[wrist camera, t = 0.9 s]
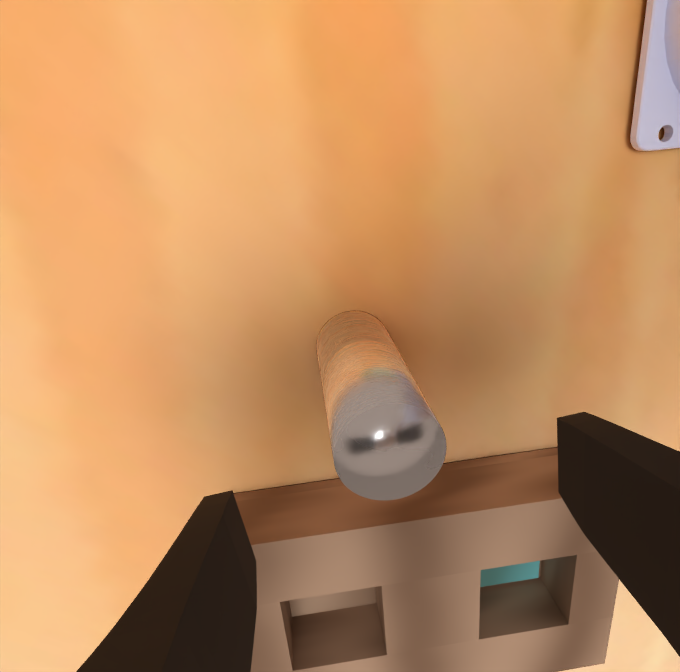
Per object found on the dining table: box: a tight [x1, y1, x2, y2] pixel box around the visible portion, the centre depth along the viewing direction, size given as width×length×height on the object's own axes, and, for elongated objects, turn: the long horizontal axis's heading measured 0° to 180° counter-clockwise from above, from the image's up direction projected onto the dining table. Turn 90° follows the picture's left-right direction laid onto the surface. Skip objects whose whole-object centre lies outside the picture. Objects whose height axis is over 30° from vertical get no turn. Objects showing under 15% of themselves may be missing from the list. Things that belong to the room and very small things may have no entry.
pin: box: [316, 311, 446, 500], centre depth 15 cm, size 3×3×7 cm
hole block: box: [234, 447, 619, 672], centre depth 21 cm, size 16×10×3 cm, turn 95°
